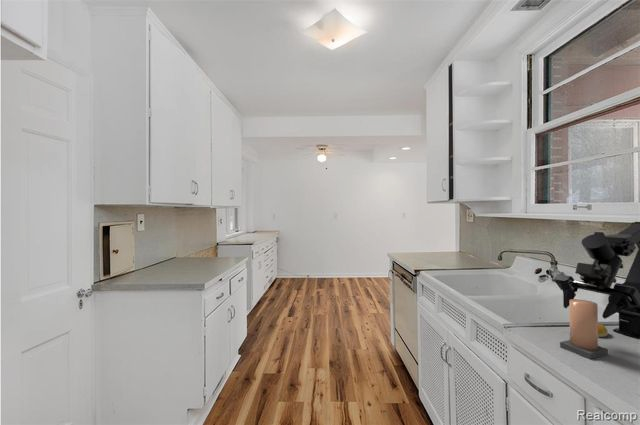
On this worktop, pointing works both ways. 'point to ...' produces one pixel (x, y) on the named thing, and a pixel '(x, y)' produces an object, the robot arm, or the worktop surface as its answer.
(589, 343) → the peach cylinder
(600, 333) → the bread roll
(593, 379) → the worktop surface
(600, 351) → the plate
